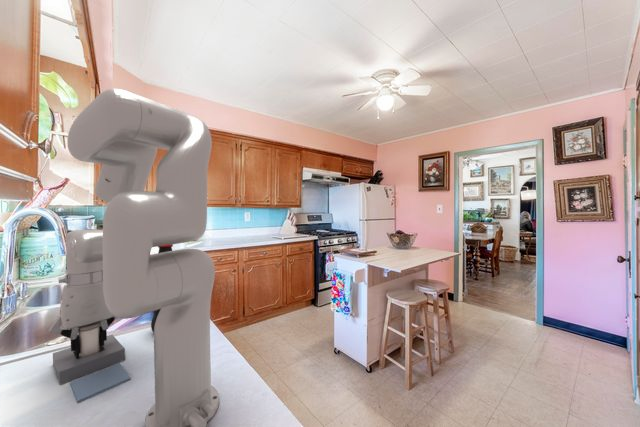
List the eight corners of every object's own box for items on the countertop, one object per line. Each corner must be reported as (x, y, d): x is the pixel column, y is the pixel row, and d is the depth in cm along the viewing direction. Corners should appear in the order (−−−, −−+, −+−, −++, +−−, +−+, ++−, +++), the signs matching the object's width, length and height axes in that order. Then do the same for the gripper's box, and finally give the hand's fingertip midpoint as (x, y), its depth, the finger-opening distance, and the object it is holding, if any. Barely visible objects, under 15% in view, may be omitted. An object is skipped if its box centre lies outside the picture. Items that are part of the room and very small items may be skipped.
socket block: (125, 359, 66) (124, 348, 66) (59, 385, 57) (59, 371, 57) (112, 344, 74) (112, 334, 73) (52, 364, 64) (52, 353, 64)
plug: (102, 361, 65) (101, 323, 65) (80, 369, 62) (79, 329, 62) (98, 355, 68) (97, 318, 68) (77, 363, 65) (76, 324, 64)
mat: (130, 379, 58) (130, 377, 58) (77, 403, 51) (77, 400, 51) (119, 364, 64) (119, 362, 64) (70, 384, 57) (70, 382, 57)
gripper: (40, 288, 56) (42, 370, 56) (131, 273, 69) (133, 339, 69) (37, 282, 60) (39, 358, 61) (123, 269, 74) (124, 331, 74)
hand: (89, 347), depth 65 cm, fingers closed on plug, 4 cm apart
